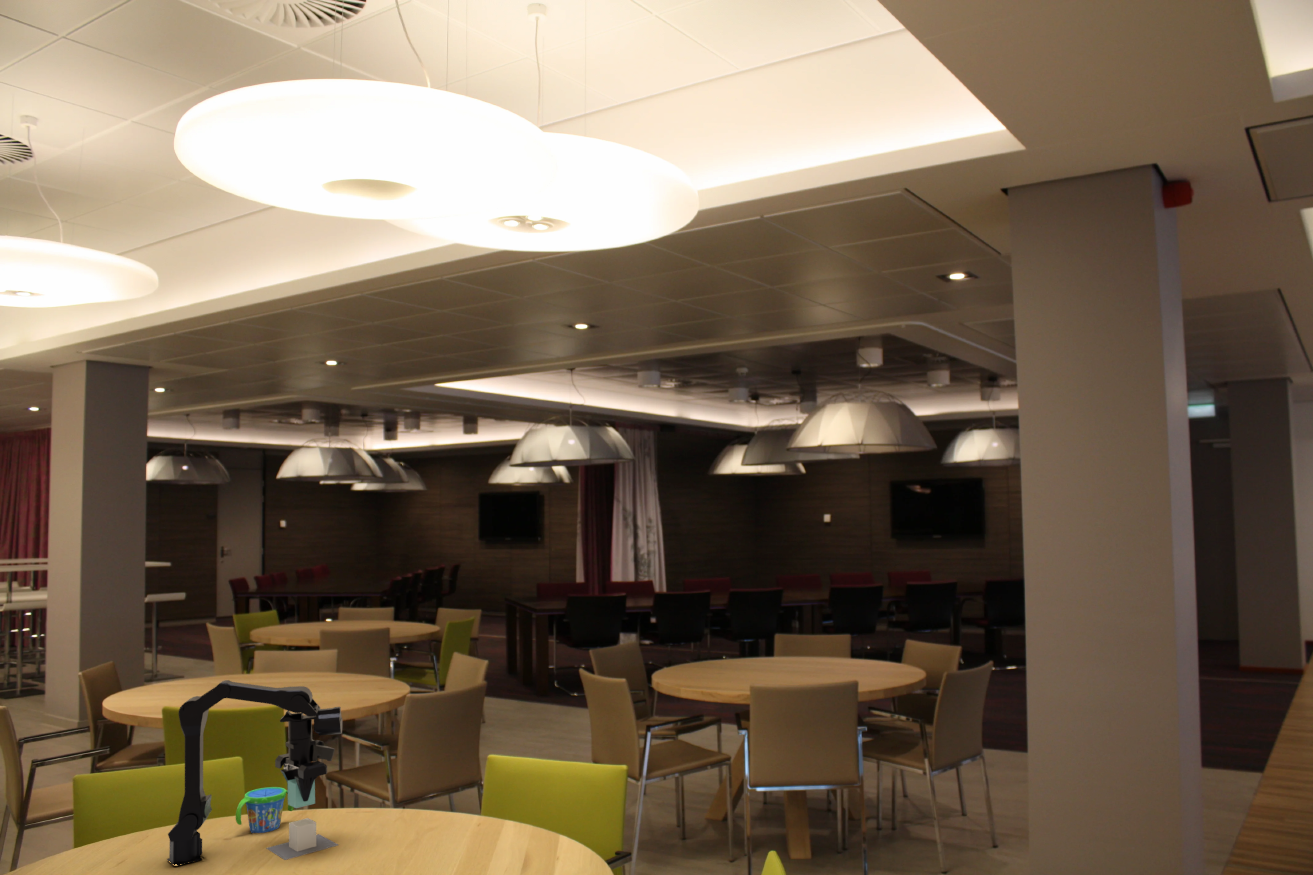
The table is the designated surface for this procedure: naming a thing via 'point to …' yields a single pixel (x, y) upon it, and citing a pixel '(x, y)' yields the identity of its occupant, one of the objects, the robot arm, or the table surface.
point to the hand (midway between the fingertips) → (301, 798)
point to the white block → (302, 834)
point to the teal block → (299, 795)
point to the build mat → (289, 853)
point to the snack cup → (263, 808)
